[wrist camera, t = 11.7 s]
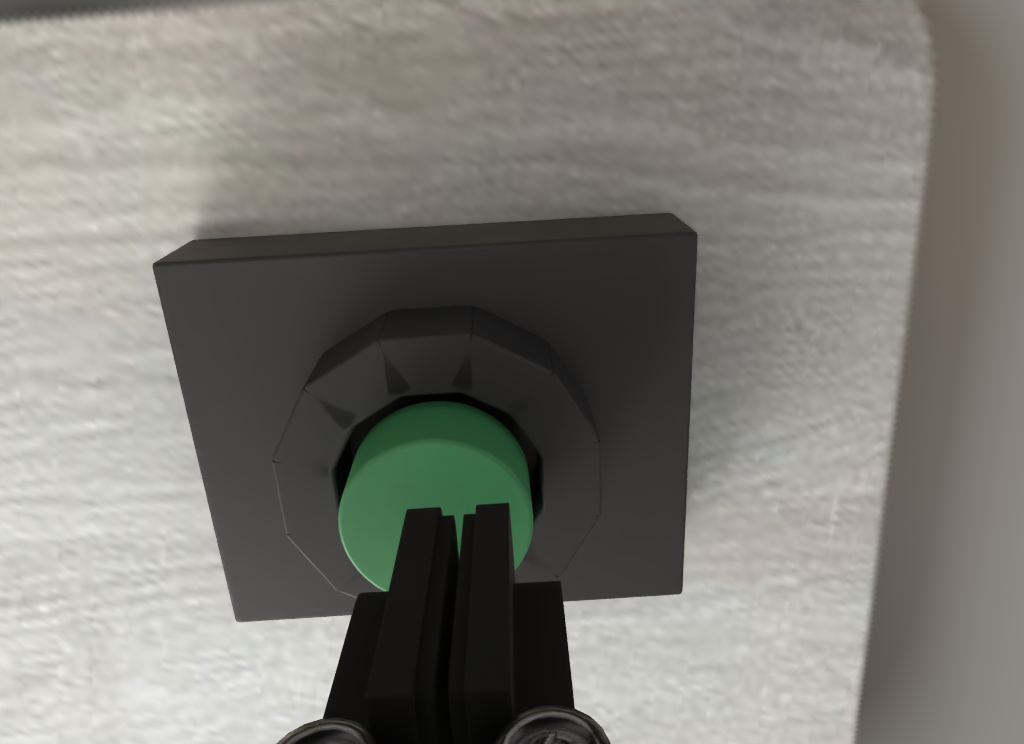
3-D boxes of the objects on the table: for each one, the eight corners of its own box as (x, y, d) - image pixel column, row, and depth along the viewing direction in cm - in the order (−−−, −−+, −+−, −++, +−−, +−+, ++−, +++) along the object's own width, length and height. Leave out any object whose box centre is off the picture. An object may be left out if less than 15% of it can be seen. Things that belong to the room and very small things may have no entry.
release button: (525, 393, 15) (529, 434, 13) (532, 547, 16) (537, 600, 15) (341, 404, 15) (324, 446, 13) (364, 557, 16) (351, 612, 15)
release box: (673, 212, 17) (725, 252, 13) (663, 543, 21) (702, 647, 17) (189, 239, 17) (107, 287, 13) (259, 568, 20) (210, 679, 17)
